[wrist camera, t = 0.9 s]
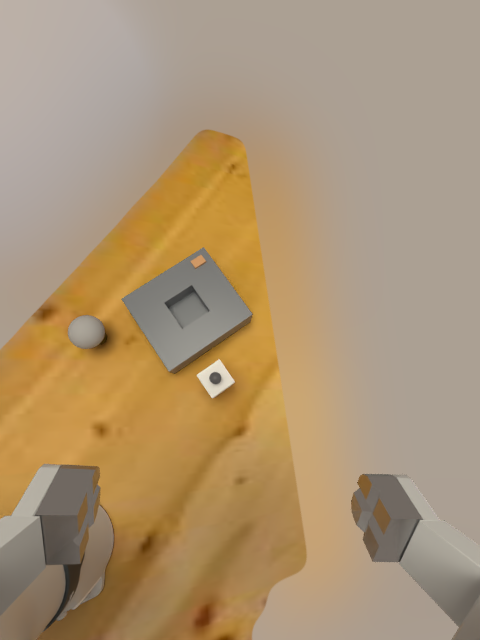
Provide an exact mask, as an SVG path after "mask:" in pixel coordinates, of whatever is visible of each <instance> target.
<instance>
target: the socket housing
mask: <svg viewBox="0 0 480 640" xmlns="http://www.w3.org/2000/svg"><path fill="white" fill-rule="evenodd" d="M122 301H123V302H124V304H125V305H126V307H127V308H128V310H129V311H130V313H131V314H132V316H133V317H134V319H135V321H136V322H137V324H138V325H139V327H140V328H141V330H142V331H143V333H144V334H145V336H146V337H147V339H148V340H149V342H150V343H151V345H152V346H153V348H154V349H155V351H156V352H157V354H158V356H159V357H160V359H161V360H162V362H163V363H164V365H165V366H166V368H167V369H168V371H169V372H172V373H174V374H175V373H177V372H178V371H180V370H181V369H182V368H184V367H185V366H187V365H188V364H190V363H191V362H193V361H194V360H196V359H197V358H198V357H200V356H201V355H203V354H204V353H206V352H207V351H209V350H210V349H212V348H213V347H215V346H216V345H217V344H219V343H220V342H222V341H223V340H225V339H226V338H228V337H229V336H231V335H232V334H233V333H235V332H236V331H238V330H239V329H241V328H242V327H244V326H245V325H247V324H248V323H249V322H250V321H251V318H252V315H253V314H252V313H251V312H250V310H249V309H248V307H247V306H246V305H245V303H244V302H243V301H242V299H241V298H240V296H239V295H238V294H237V292H236V291H235V290H234V288H233V287H232V286H231V284H230V283H229V281H228V280H227V279H226V277H225V276H224V275H223V273H222V272H221V270H220V269H219V268H218V266H217V265H216V264H215V262H214V261H213V259H212V258H211V257H210V255H209V254H208V253H207V251H206V250H205V248H204V247H203V248H202V249H200V250H199V251H197V252H195V253H194V254H192V255H191V256H189V257H187V258H186V259H184V260H183V261H181V262H179V263H178V264H176V265H175V266H173V267H172V268H170V269H168V270H167V271H165V272H164V273H162V274H160V275H159V276H157V277H156V278H154V279H152V280H151V281H149V282H148V283H146V284H144V285H143V286H141V287H140V288H138V289H136V290H135V291H133V292H132V293H130V294H129V295H127V296H125V297H124V298H122Z"/></svg>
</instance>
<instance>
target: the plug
mask: <svg viewBox="0 0 480 640" xmlns="http://www.w3.org/2000/svg"><path fill="white" fill-rule="evenodd" d="M197 377H198V378H199V380H200V381H201V383H202V384H203V386H204V387H205V389H206V390H207V392H208V393H209V395H210V396H211V398H215V397H217V396H218V395H219V394H221V393H222V392H224V391H225V390H226V389H228V388H229V387H231V386H232V385H233V384H234V383H235V381H234V380H233V378H232V377H231V375H230V374H229V372H228V371H227V370H226V368H225V367H224V365H223V364H222V362H221V361H220V359H219V360H217V361H216V362H215V363H213V364H212V365H210V366H209V367H207V368H206V369H204V370H203V371H202V372H200V373H199V374H197Z"/></svg>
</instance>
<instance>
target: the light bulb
mask: <svg viewBox="0 0 480 640" xmlns="http://www.w3.org/2000/svg"><path fill="white" fill-rule="evenodd" d="M68 336H69V339H70V341H71V342H72V343H73V344H74V345H75V346H77V347H79V348H82V349H90V348H93V347H96V346H97V345H100V344H103V343H104V342H105V341H106V339H107V335H106V333H105V328H104V326H103V324H102V322H101V321H100V320H99V319H97V318H96V317H93V316H89V315H84V316H80V317H78V318H76V319H74V320H73V321H72V322H71V324H70V326H69V328H68Z"/></svg>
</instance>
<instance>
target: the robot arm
mask: <svg viewBox="0 0 480 640" xmlns="http://www.w3.org/2000/svg"><path fill="white" fill-rule="evenodd" d="M99 478H100V468H99V467H97V466H79V465H55V464H43V465H42V466H41V467H40V468H39V469H38V471H37V473H36V475H35V476H34V478H33V480H32V481H31V483H30V485H29V486H28V488H27V490H26V491H25V493H24V495H23V496H22V498H21V500H20V501H19V503H18V505H17V507H16V508H15V510H14V512H13V513H12V515H11V516H4V517H3V518H1V519H0V640H37V639H38V637H39V636H40V634H41V633H42V632H43V631H45V630H46V629H47V628H48V627H49V626H50V625H51V624H52V623H53V622H54V621H55V620H56V619H57V621H60V620H61V619H63V618H64V617H65V616H66V615H67V611H69V610H70V609H72V610H74V609H76V608H77V607H78V606H79V605H80V604H82V603H84V602H86V601H88V600H90V599H92V598H94V597H96V596H97V595H99V593H100V592H101V591H102V590H103V587H104V581H105V569H106V566H107V564H108V561H109V559H110V556H111V553H112V549H113V543H114V533H113V527H112V523H111V521H110V518H109V516H108V515H107V513H106V512H105V510H104V509H103V508H102V507H101V506H100V505H99V503H100V487H99V486H98V485H97V483H98V481H99ZM357 483H358V485H359V487H360V488H359V489H358V490H357V491H356V492H354V494H353V497H352V500H351V505H352V514H353V517H354V520H355V522H356V525H357V526H358V527H359V528H360V529H361V530H362V531H364V537H363V541H364V543H365V545H366V548H367V550H368V552H369V554H370V557H371V559H372V561H374V562H400V563H399V564H400V565H401V566H402V567H403V568H404V569H405V571H406V572H407V573H408V574H409V575H410V576H411V577H412V578H413V579H414V580H415V581H416V582H417V583H418V584H419V585H420V586H421V588H423V590H424V591H425V592H426V593H427V594H428V595H429V596H430V597H431V598H432V599H433V600H434V601H435V602H436V603H437V604H438V606H440V608H441V609H442V610H443V611H444V612H445V613H446V614H447V615H448V616H449V617H450V618H451V619H452V620H453V621H454V623H456V625H457V626H458V627H459V629H458V630H457V632H456V633H455V635H454V636H453V638H452V640H480V546H479V545H478V544H476V543H475V542H474V541H472V540H471V539H469V538H468V537H467V536H465V535H464V534H463V533H461V532H460V531H459V530H457V529H456V528H454V527H453V526H452V525H450V524H449V523H448V522H446V521H445V520H439V518H438V516H437V515H436V514H435V512H434V511H433V509H432V508H431V506H430V505H429V504H428V502H427V501H426V499H425V498H424V496H423V495H422V494H421V492H420V491H419V489H418V488H417V487H416V485H415V484H414V482H413V481H412V479H411V478H410V477H409V476H407V475H388V474H362V475H361V476H360V477H359V480H358V482H357Z"/></svg>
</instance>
